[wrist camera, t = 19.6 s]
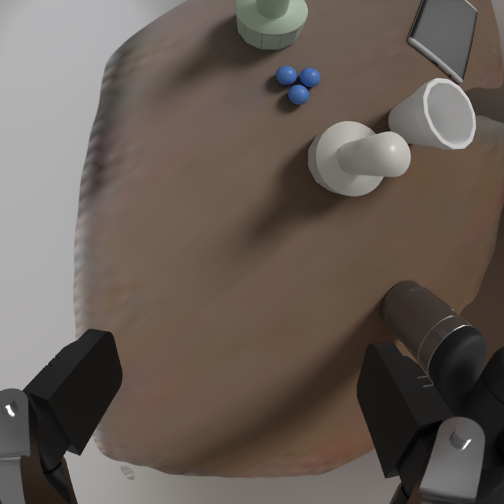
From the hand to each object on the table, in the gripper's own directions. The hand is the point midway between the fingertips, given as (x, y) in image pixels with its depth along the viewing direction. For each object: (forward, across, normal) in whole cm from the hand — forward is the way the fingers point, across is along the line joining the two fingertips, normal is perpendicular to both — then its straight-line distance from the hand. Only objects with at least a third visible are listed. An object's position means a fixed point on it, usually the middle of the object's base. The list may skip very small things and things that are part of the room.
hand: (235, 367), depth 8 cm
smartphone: (+37, -37, -42) cm, 68 cm away
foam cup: (+36, -24, -16) cm, 46 cm away
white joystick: (+36, -12, -8) cm, 39 cm away
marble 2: (+34, -6, -18) cm, 39 cm away
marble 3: (+34, -7, -21) cm, 40 cm away
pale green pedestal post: (+35, -1, -31) cm, 47 cm away
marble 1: (+34, -4, -21) cm, 40 cm away
